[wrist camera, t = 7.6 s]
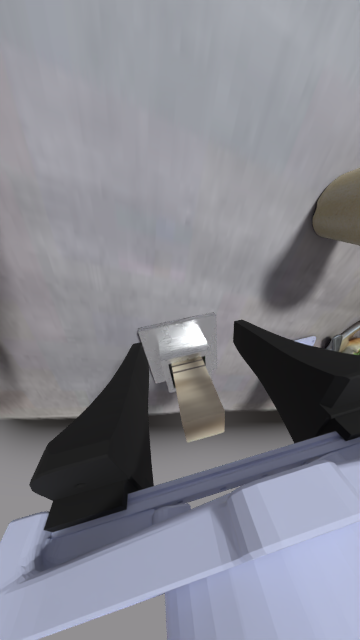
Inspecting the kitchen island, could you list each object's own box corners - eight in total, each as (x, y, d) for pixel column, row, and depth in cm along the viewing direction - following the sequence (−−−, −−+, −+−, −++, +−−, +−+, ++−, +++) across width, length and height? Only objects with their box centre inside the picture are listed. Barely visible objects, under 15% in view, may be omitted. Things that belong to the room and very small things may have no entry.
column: (200, 369, 24) (224, 432, 16) (174, 376, 23) (186, 443, 16) (198, 349, 22) (225, 411, 14) (169, 356, 21) (181, 422, 14)
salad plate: (292, 358, 33) (312, 376, 29) (376, 291, 27) (414, 302, 23) (326, 385, 41) (345, 402, 37) (395, 337, 36) (426, 351, 32)
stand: (215, 364, 29) (227, 388, 24) (155, 378, 28) (157, 406, 23) (213, 311, 23) (228, 330, 19) (138, 328, 22) (136, 351, 18)
